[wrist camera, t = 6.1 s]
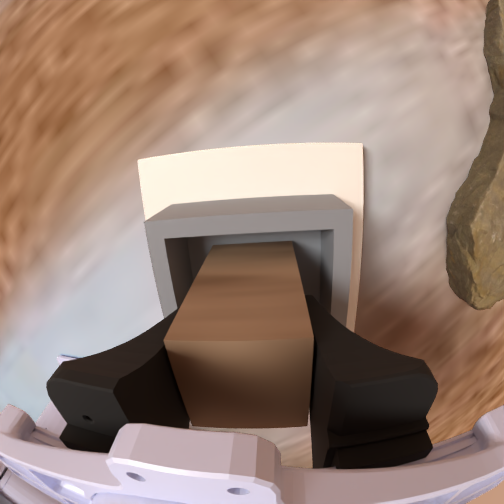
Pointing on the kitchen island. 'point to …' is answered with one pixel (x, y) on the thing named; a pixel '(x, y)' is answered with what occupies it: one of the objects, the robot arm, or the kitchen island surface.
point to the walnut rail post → (244, 340)
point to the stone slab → (482, 194)
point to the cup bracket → (258, 214)
